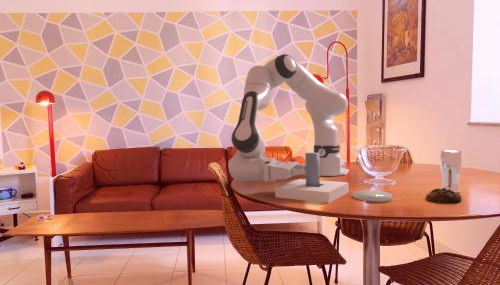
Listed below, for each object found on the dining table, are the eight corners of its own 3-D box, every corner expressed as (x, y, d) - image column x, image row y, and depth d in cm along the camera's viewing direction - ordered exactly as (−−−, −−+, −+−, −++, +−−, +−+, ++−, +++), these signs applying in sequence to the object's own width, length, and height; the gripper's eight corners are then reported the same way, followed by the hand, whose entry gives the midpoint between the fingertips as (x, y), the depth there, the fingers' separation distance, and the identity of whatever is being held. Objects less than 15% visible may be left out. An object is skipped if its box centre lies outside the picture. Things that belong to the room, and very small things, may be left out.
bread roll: (445, 205, 128) (444, 189, 129) (418, 203, 139) (417, 188, 139) (470, 202, 133) (469, 187, 133) (442, 200, 143) (441, 186, 143)
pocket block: (299, 188, 160) (299, 178, 160) (348, 193, 150) (348, 182, 150) (275, 198, 144) (275, 187, 143) (328, 204, 133) (328, 192, 133)
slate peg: (309, 192, 150) (308, 152, 149) (321, 193, 147) (321, 152, 146) (303, 195, 146) (303, 153, 145) (316, 196, 143) (316, 154, 142)
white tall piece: (444, 189, 154) (444, 149, 153) (463, 191, 149) (464, 150, 148) (436, 191, 149) (437, 151, 148) (457, 194, 144) (457, 152, 143)
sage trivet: (359, 193, 149) (359, 189, 149) (395, 196, 142) (395, 192, 142) (347, 200, 138) (347, 195, 138) (386, 204, 131) (386, 199, 131)
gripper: (276, 173, 161) (311, 174, 156) (263, 182, 141) (302, 183, 137) (276, 157, 160) (311, 157, 156) (262, 164, 141) (302, 164, 136)
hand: (307, 169), depth 146 cm, fingers open, 8 cm apart
